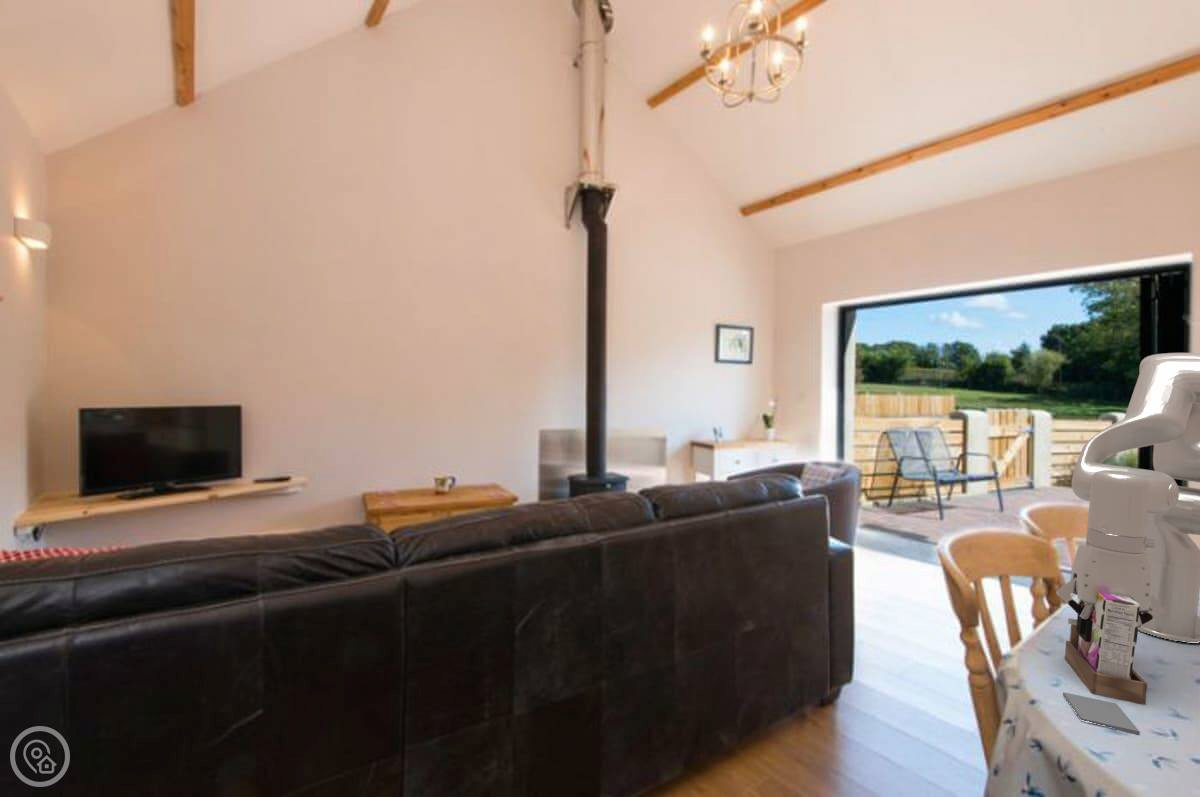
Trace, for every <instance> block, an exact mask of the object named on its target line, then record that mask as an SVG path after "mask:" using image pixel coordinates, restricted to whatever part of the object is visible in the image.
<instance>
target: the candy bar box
mask: <svg viewBox="0 0 1200 797" xmlns="http://www.w3.org/2000/svg"><path fill="white" fill-rule="evenodd" d="M1139 610H1140V605H1139V604H1138V603H1137V602H1136V601H1135V600H1134V599H1133V598H1132V597H1126V596H1121V595H1115V594H1109V593H1102V592H1099V593H1098V597H1097V601H1096V604H1094V608H1093V610H1092V612H1091V614H1090V620H1091V621H1092V631H1091V640H1090V642H1085V641H1084V640H1083V639H1082V638H1081V637H1080V635H1079V639H1078V648H1077V651H1078V652H1079V653H1080V654H1081V655H1082V657H1083V658H1084V659H1085V660H1086V661H1087V663H1088V664H1089V665H1090V666H1091V667H1092V668H1093V670H1094V671H1095V672H1096V673H1100V674H1105V675H1110V676H1115V677H1120V678H1125V679H1130V680H1131V676H1132V669H1133V665H1134V657H1135V649H1136V644H1137V643H1136V635H1137V636H1138V633H1137V626H1138V617H1139ZM1135 643H1136V644H1135Z"/></svg>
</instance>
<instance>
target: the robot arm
mask: <svg viewBox="0 0 1200 797" xmlns="http://www.w3.org/2000/svg"><path fill="white" fill-rule="evenodd" d="M1138 368H1139V371H1138V372H1139V375H1138V378H1137V380H1136V383H1135V386H1134V388H1133V392H1132V394H1131V398H1130V401H1129V404H1128V406H1127V409H1126V412H1125V414H1124V415H1125V416H1124V418H1122V419H1121V420H1118V421H1116V422H1114V423H1113V424H1111V425H1109V426H1107V427H1105V428H1104V429H1102V430H1101V431H1099V432H1097V433H1096V434H1095V435H1094V436H1092V437H1091V438H1090V439H1088V441H1087V442H1086V443H1085V444H1084V445H1083V447H1082V449H1081V451H1080V453H1079V456H1078V459H1077V461H1076V464H1075V467H1074V469H1073V473H1072V478H1071V488H1072V491H1073V494H1075V496H1077V497H1078V498H1079V499H1080V500H1082V501H1086V502H1088V504H1089V507H1088V516H1087V517H1088V518H1087V529H1086V537H1085V539H1086V540H1085V542H1080V543H1079V545H1078V546H1077V549H1076V553H1075V557H1074V560H1073V564H1072V567H1071V573H1070V580H1069V581H1068V582H1067V583H1065V584H1064V585H1062V586H1061V587H1059V589H1057V590H1056V591H1055V594H1056V595H1057V596H1058V597H1059V598H1060V599H1061V600H1062V601H1064V602H1065V603H1066V604H1067V605H1068V606H1069V607H1070V608H1072V610H1073V611H1074V612H1075V613H1077V616H1076V617H1077V618H1076V619H1077V627H1076V631H1077V633H1078V634H1079V635H1080V637H1081V638H1082V639H1083V640H1084V641H1085V642H1090V640H1091V631H1092V621H1091V620H1090V614H1091V612H1092V610H1093V608H1094V604H1096V601H1097V597H1098V593H1099V592H1102V593H1109V594H1115V595H1121V596H1126V597H1132V598H1133V599H1134V600H1135V601H1136V602H1137V603H1138V604H1139V605H1140V610H1139V617H1138V626H1137V635H1136V643H1135V645H1137V640H1138V631H1139V632H1142V633H1144V634H1146V633H1147V635H1149V634H1150V635H1149V636H1152V635H1153V637H1155V636H1157V637H1156V638H1159V637H1161V638H1160V639H1162V638H1164V639H1163V640H1166V639H1170V640H1169V641H1171V640H1177V641H1185V642H1198V641H1200V616H1199V615H1198V612H1199V603H1200V548H1199V546H1198V545H1197V543H1195V541H1194V540H1193V539H1192V538H1191V537H1190V535H1193V536H1194V535H1196V536H1200V488H1196V487H1188V486H1181V485H1178V484H1177V482H1176V480H1180V481H1186V482H1187V481H1188V482H1195V483H1200V352H1167V353H1157V354H1151V355H1148V356H1146V357H1144V358H1143V359H1142V360H1141V361H1140V364H1139V367H1138ZM1149 446H1153V451H1152V466H1153V469H1154V470H1151V469H1144V468H1136V467H1131V466H1122V465H1116V464H1115V465H1113V464H1106V463H1104V461H1106V460H1107V459H1108V458H1110V457H1112V456H1113V455H1117V454H1118V453H1121V452H1125V451H1129V450H1134V449H1138V448H1143V447H1149ZM1072 594H1074V595H1076V596H1077V599H1078V602H1077V601H1076V600H1075V599H1074V598H1072V597H1071V595H1072Z"/></svg>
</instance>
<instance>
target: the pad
mask: <svg viewBox="0 0 1200 797" xmlns="http://www.w3.org/2000/svg"><path fill="white" fill-rule="evenodd" d="M1062 695H1063V697H1064V699H1065V698H1066V699H1065V700H1066V702H1067V701H1068V702H1069V703H1070V704H1069V703H1068V702H1067V703H1068V704H1069V706H1070V705H1071V706H1072V707H1071V706H1070V707H1071V708H1073V709H1074V710H1075V712H1076V713H1077V715H1078V716H1079V718H1080V719H1081V720H1084V721H1089V722H1092V723H1096V724H1100V725H1105V726H1107V727H1106V728H1108V727H1112V728H1115V729H1114V730H1116V729H1119V730H1118V731H1121V730H1122V731H1121V732H1125V731H1126V733H1130V734H1135V735H1139V736H1140V734H1141V731H1140V730H1139V729H1138V728H1137V727H1136V725H1135V724H1134V723H1133V722H1132V721H1131V719H1130V718H1129V716H1127V714H1126V713H1125V712H1124V711H1123V709H1122V708H1121V707H1120V706H1119V705H1118V703H1116V702H1111V701H1107V700H1102V699H1097V698H1092V697H1088V696H1083V695H1080V694H1074V693H1069V692H1064V691H1063V692H1062ZM1073 709H1072V710H1073ZM1074 710H1073V711H1074ZM1075 712H1074V713H1075ZM1076 713H1075V714H1076ZM1077 715H1076V716H1077ZM1078 716H1077V717H1078ZM1079 718H1078V719H1079ZM1080 719H1079V720H1080ZM1112 728H1111V729H1112Z"/></svg>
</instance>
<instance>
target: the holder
mask: <svg viewBox="0 0 1200 797" xmlns="http://www.w3.org/2000/svg"><path fill="white" fill-rule="evenodd" d="M1067 624H1068V625H1070V631H1069V632H1070V634H1069V640H1065V650H1064V651H1065V652H1064V660H1065V661H1066V662H1067V664H1068V665H1069V666H1070V667H1071V668H1072V670H1073V671H1074V672H1075V674H1076V676H1077V677H1078V678H1079V679H1080V680H1081V682H1082V683H1083V684H1084V686H1086V688H1087V689H1088V690H1089V692H1090V693H1091V694H1092V695H1098V696H1103V697H1106V698H1107V697H1108V698H1111V699H1116V700H1122V701H1126V702H1131V703H1135V704H1139V705H1147V703H1146V702H1147V695H1148V694H1147V692H1148V683H1147V682H1146V681H1145V680H1144V679H1143V678H1142V676H1140V675H1139V674H1138V673H1137V672H1136V671H1135V670H1134V669H1133V668H1132V676H1131V680H1130V679H1125V678H1120V677H1115V676H1110V675H1105V674H1100V673H1096V672H1095V671H1094V670H1093V668H1092V667H1091V666H1090V665H1089V664H1088V663H1087V661H1086V660H1085V659H1084V658H1083V657H1082V655H1081V654H1080V653H1079V652H1078V651H1077V648H1078V639H1079V634H1078V633H1077V631H1076V627H1077V618H1072V617H1068V618H1067Z"/></svg>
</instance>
